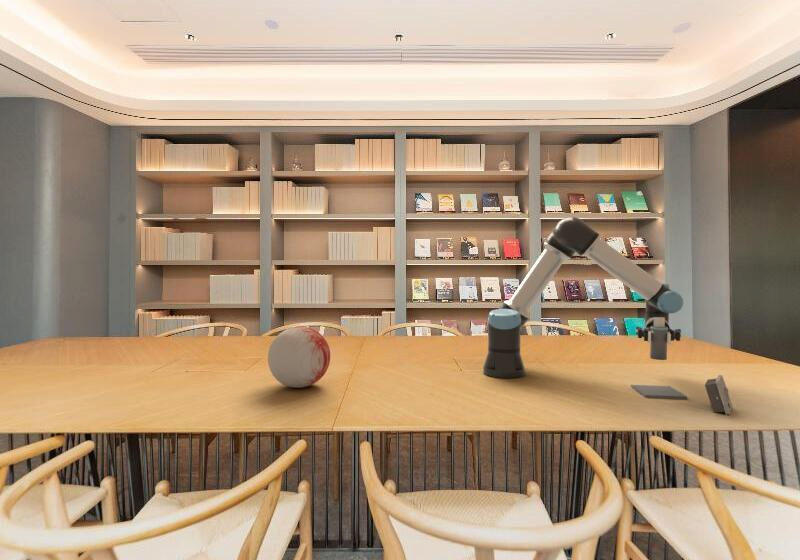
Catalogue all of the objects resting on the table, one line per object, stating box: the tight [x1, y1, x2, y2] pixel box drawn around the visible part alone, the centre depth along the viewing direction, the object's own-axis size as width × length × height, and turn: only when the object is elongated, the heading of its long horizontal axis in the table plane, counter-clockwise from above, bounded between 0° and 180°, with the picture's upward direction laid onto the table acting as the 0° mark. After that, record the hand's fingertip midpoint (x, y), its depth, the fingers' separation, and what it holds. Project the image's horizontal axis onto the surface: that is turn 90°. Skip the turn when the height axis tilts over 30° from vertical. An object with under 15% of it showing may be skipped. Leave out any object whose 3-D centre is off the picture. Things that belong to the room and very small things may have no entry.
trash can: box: [649, 317, 668, 361], centre depth 148 cm, size 5×5×13 cm
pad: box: [630, 384, 688, 400], centre depth 149 cm, size 12×12×1 cm
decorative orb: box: [267, 326, 331, 389], centre depth 156 cm, size 21×20×20 cm
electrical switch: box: [704, 374, 733, 416], centre depth 132 cm, size 9×5×9 cm, turn 141°
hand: (659, 338), depth 144 cm, fingers closed on trash can, 4 cm apart
